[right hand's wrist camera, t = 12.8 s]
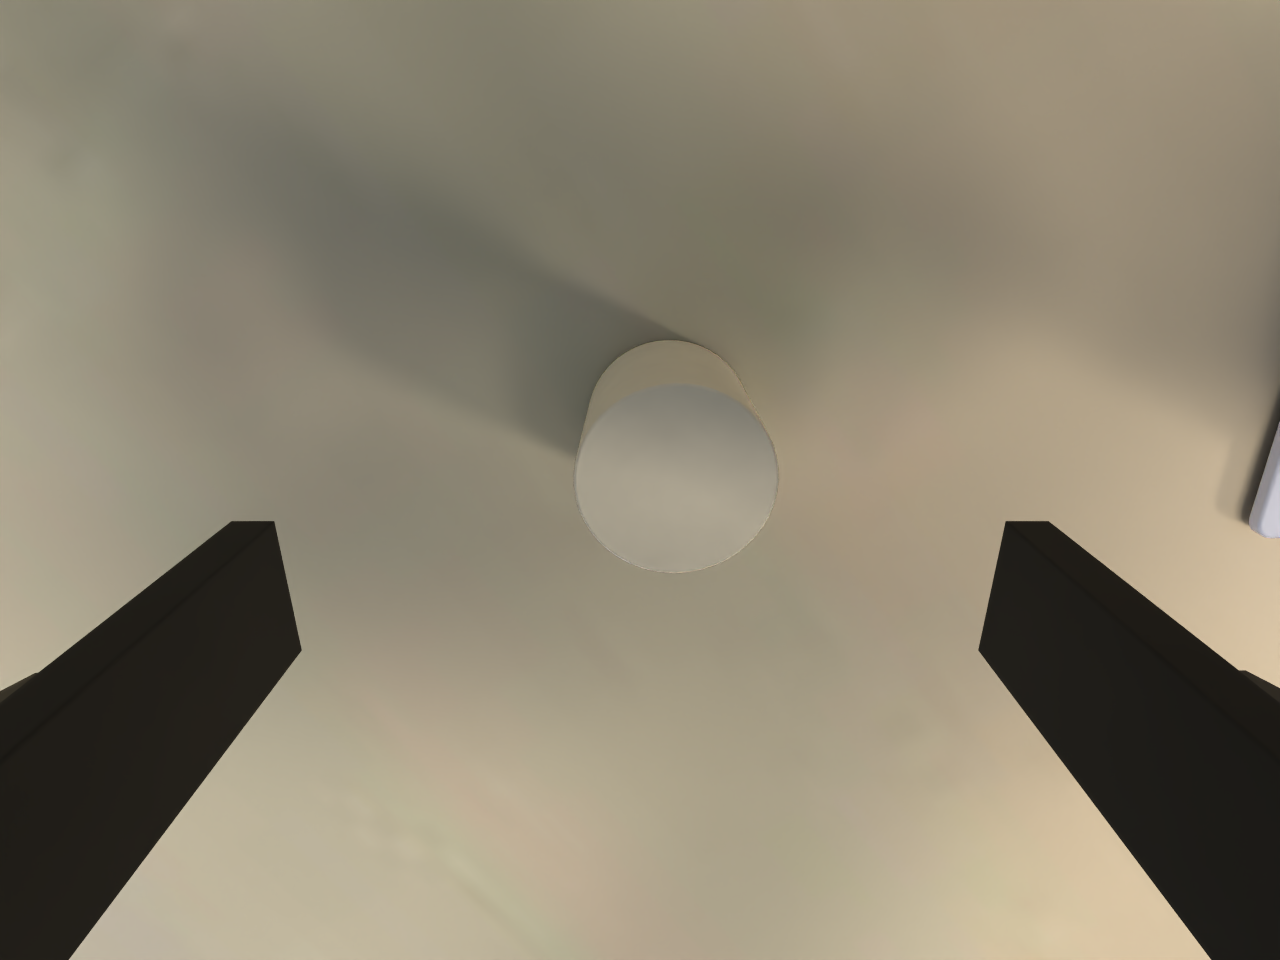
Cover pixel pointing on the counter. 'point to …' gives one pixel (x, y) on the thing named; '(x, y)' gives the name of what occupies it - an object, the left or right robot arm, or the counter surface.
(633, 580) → the counter surface
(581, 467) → the can
